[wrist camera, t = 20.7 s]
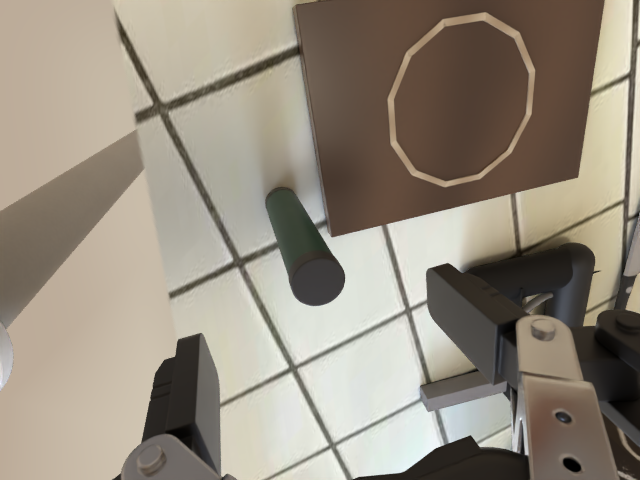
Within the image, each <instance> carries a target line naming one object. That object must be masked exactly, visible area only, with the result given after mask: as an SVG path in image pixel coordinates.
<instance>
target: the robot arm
mask: <svg viewBox="0 0 640 480" xmlns="http://www.w3.org/2000/svg"><path fill="white" fill-rule="evenodd" d="M426 282H427V305H428V310H429V313H430V315H431V317H432V319H433V320H434V321H435V322H436V324H437V325H438V326H439V327H440V328H441V329H442V330H443V331H444V332H445V333H446V335H447V336H448V337H449V338H450V339H451V340H452V341H453V342H454V343H455V344H456V346H457V347H458V348H459V349H460V350H461V351H462V352H463V353H464V354H465V355H466V357H467V358H468V359H469V360H470V361H471V362H472V363H473V364H474V365H475V367H476V368H477V369H478V370H479V371H480V372H481V373H482V374H483V375H484V376H485V378H486V379H487V380H488V381H489V382H490V383H491V384H492V385H493V386H494V385H497V384H499V383H502V382H505V381H507V382H508V383H509V384H510V385H511V390H510V402H511V426H512V451H510V450H506V449H501V448H494V447H479V446H478V445H477V443H476V442H475V440H474V439H473V438H472V436H471V435H470V436H468V437H465V438H462V439H460V440H457V441H454V442H452V443H449V444H446V445H444V446H441V447H438V448H436V449H434V450H433V451H432V452H430V453H429V454H428V455H426V456H425V457H424V458H422V459H421V460H420V461H418V462H417V463H416V464H414V465H413V466H412V467H410V468H409V469H408V470H406V471H405V472H402V473H397V474H386V475H375V476H365V477H358V478H355V479H353V480H620V478H619V475H618V471H617V467H616V464H615V460H614V457H613V453H612V449H611V446H610V442H609V439H608V435H607V431H606V428H605V424H604V421H603V417H602V413H603V414H604V415H605V416H607V417H608V418H609V419H610V420H611V421H612V422H613V423H614V424H615V425H616V426H617V427H618V428H619V429H620V430H622V431H623V432H624V433H625V434H626V435H627V436H628V437H629V438H630V439H631V440H632V441H633V442H634V443H636V444H637V445H638V446H639V447H640V314H639V313H636V312H632V311H628V310H620V309H613V310H606V311H603V312H601V313H600V314H599V315H598V317H597V322H596V326H584V327H568V326H567V325H566V324H564V323H563V322H561V321H560V320H558V319H555V318H553V317H549V316H545V315H529V314H528V313H527V312H525V311H524V310H523V309H521V308H520V307H519V306H517V305H516V304H515V303H513V302H512V301H511V300H509V299H508V298H507V297H505V296H504V295H503V294H500V293H499V291H497V290H496V289H495V288H493V287H491V286H490V285H489V284H488V283H487V282H485V281H484V280H483V279H481V278H480V277H477V276H474V275H472V274H469V273H466V272H465V273H461V272H460V271H458V270H457V269H456V268H455V267H453V266H452V265H451V264H449V263H446V264H443V265H439V266H436V267H432V268H429V269H428V270H427V272H426ZM150 398H151V401H150V402H149V407H148V412H147V417H146V422H145V427H144V432H143V438H142V442H141V444H140V445H139V446H137V447H136V448H135V449H134V450H133V451H132V453H131V454H130V455H129V456H128V458H127V459H126V461H125V463H124V465H123V467H122V471H121V474H119V475H118V476H117V477H116V478H114V479H113V480H237V479H236V478H234V477H233V476H231V475H229V474H226V475H225V476H224V477H221V448H220V388H219V379H218V374H217V370H216V367H215V364H214V362H213V359H212V356H211V354H210V351H209V348H208V345H207V343H206V340H205V337H204V335H203V334H202V333H199V334H195V335H192V336H188V337H185V338H181V339H178V342H177V348H176V355H175V357H173V358H169V359H166V360H164V361H163V363H162V364H161V366H160V367H159V369H158V370H157V372H156V373H155V377H154V382H153V389H152V392H151V397H150ZM601 412H602V413H601Z"/></svg>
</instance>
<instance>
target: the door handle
mask: <svg viewBox="0 0 640 480" xmlns="http://www.w3.org/2000/svg"><path fill="white" fill-rule="evenodd" d="M594 266H595V256H594V254H593V252H592V251H591V250H590V249H589V248H588V247H587V246H585V245H583V244H580V243H566V244H564V245H561V246H560V247H559V248H557V249H553V250H548V251H544V252H539V253H535V254H530V255H526V256H521V257H517V258H513V259H508V260H504V261H499V262H495V263H490V264H486V265H482V266H477V267H473V268H470V269H468V270H467V271H466V273H469V274H472V275H474V276H477V277H480V278H481V279H483V280H484V281H485V282H487V283H488V284H489V285H490V286H491V287H493V288H495V289H496V290H497V291H499V293H500V294H503V295H504V296H505V297H507V298H508V299H509V300H511V301H512V302H513V303H515V304H516V305H517V306H519V307H520V308H521V309H523V310H524V311H525V312H527V313H529V312H530V311H531V310H532V309H534V308H535V307H536V306H538V305H539V304H540V303H542V302H544V301H545V300H547V302H546V309H545V316H549V317H553V318H555V319H558V320H560V321H561V322H563V323H564V324H566V325H567V326H568V327H583V322H584V317H585V312H586V307H587V302H588V297H589V292H590V286H591V281H592V276H593V274H594V273H596V272H599V271H594ZM593 271H594V272H593ZM540 293H542V294H540ZM536 294H540V295H538V296H537V297H535V298H533V299H532V300H531V301H529V302H528V303H527V304H525V305H524V306H523V307H522V299H523V297H527V296H531V295H536ZM510 390H511V385H510V384H509V383H508V382H507V381H505V382H502V383H499V384H497V385H494V386H493V385H492V384H491V383H490V382H489V381H488V380H487V379H486V378H485V376H484V375H483V374H482V373H481V372H480V371H477V372H473V373H469V374H465V375H461V376H457V377H453V378H450V379H446V380H442V381H438V382H434V383H430V384H426V385H422V386H420V395H421V400H422V402H423V404H424V405H425V407H426V409H427V411H428V412H430V411H434V410H437V409H441V408H445V407H449V406H453V405H456V404H460V403H464V402H468V401H472V400H475V399H479V398H483V397H487V396H491V395H495V394H498V393H502V392H503V393H504V395H505V396H506V397H507V398H508V400H509V401H510Z"/></svg>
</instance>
